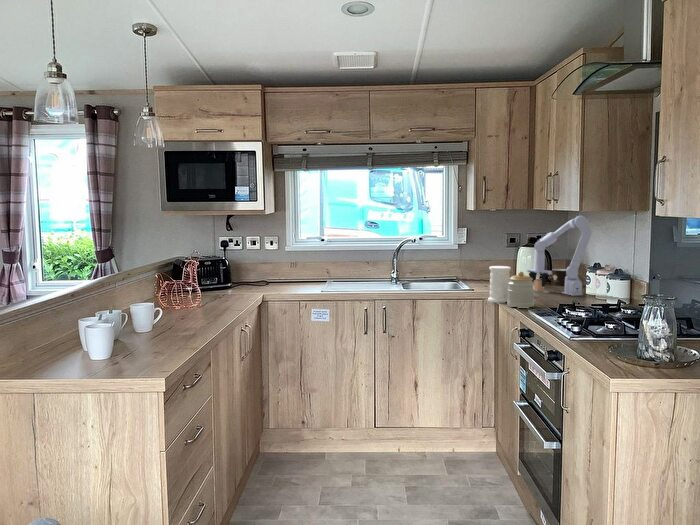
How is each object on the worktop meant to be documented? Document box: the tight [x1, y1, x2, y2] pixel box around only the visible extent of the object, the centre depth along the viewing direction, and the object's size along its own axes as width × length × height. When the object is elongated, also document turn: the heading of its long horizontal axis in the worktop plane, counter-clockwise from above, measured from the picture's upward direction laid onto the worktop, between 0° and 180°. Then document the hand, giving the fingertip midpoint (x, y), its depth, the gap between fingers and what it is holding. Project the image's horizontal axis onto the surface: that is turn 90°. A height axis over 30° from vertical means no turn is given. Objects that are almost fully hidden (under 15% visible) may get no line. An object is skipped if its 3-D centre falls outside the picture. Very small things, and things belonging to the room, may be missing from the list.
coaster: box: [534, 290, 552, 295], centre depth 312 cm, size 10×10×1 cm
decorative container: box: [487, 265, 512, 304], centre depth 287 cm, size 12×12×18 cm
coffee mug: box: [549, 268, 567, 287], centre depth 337 cm, size 12×9×10 cm
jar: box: [506, 271, 535, 308], centre depth 271 cm, size 13×13×18 cm
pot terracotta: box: [533, 278, 545, 291], centre depth 312 cm, size 6×6×6 cm
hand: (538, 285), depth 312 cm, fingers closed on pot terracotta, 5 cm apart
